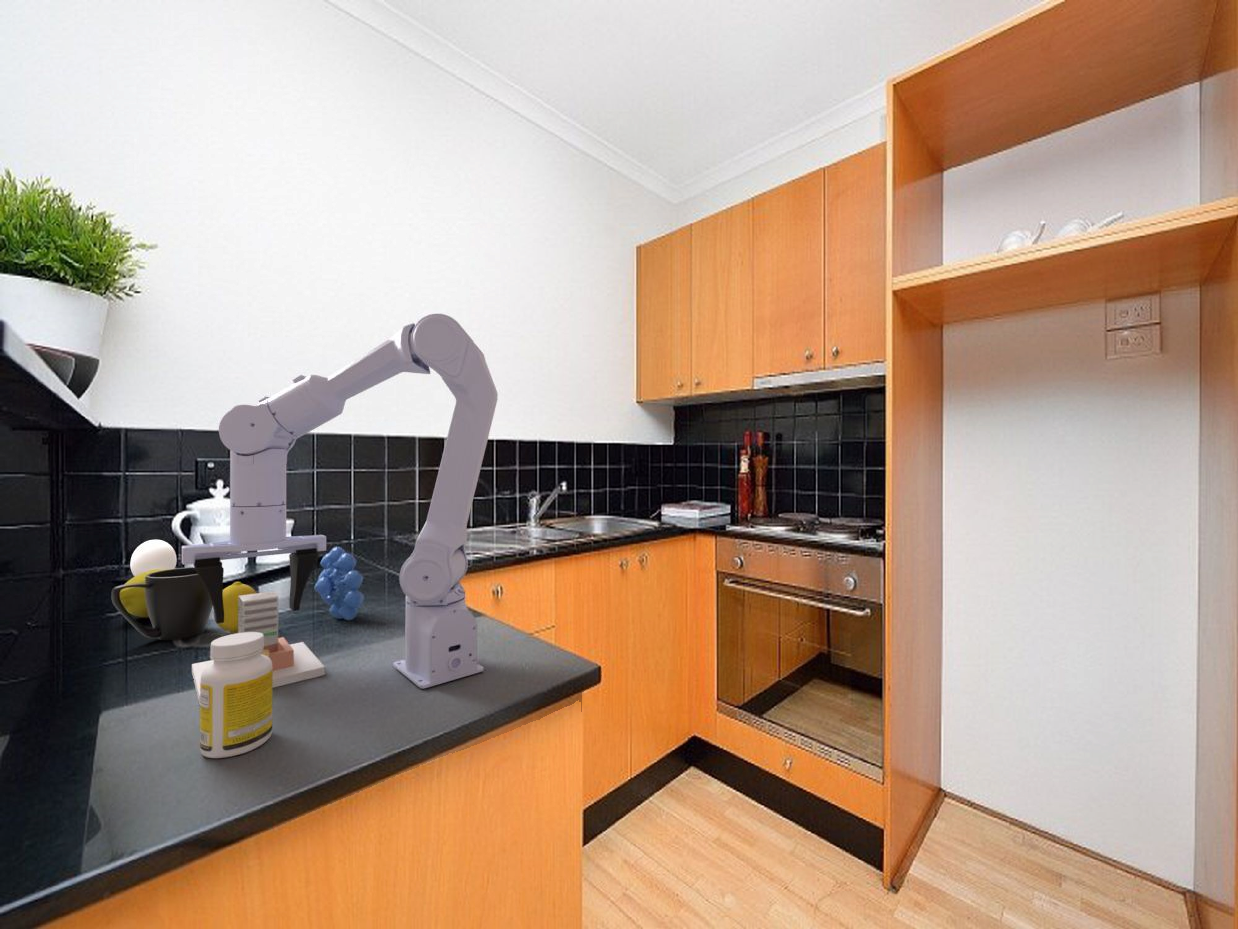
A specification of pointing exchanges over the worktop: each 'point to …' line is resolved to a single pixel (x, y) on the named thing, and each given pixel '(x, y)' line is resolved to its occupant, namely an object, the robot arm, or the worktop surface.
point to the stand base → (279, 664)
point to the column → (259, 615)
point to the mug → (171, 604)
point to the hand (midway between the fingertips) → (258, 614)
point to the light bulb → (153, 557)
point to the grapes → (340, 584)
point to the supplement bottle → (236, 696)
